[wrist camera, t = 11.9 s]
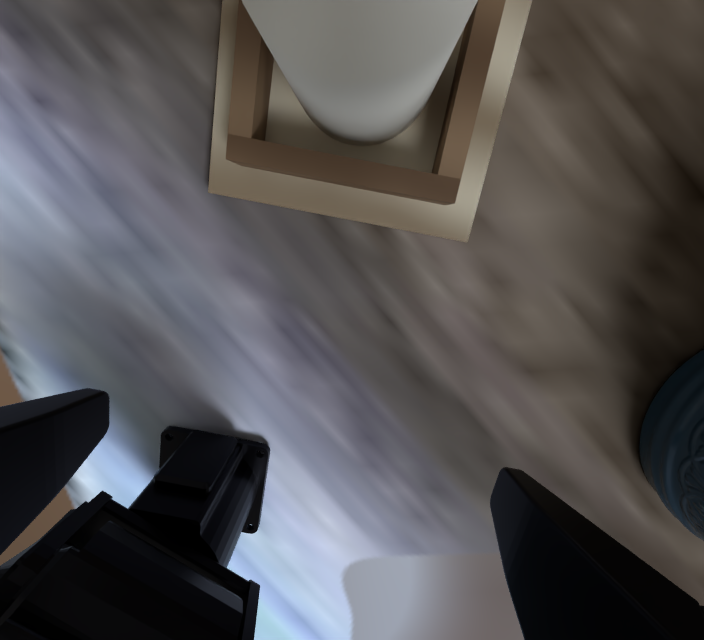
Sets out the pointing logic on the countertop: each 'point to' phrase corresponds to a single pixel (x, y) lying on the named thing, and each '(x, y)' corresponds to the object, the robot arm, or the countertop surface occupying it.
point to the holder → (365, 161)
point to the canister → (678, 444)
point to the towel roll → (361, 58)
